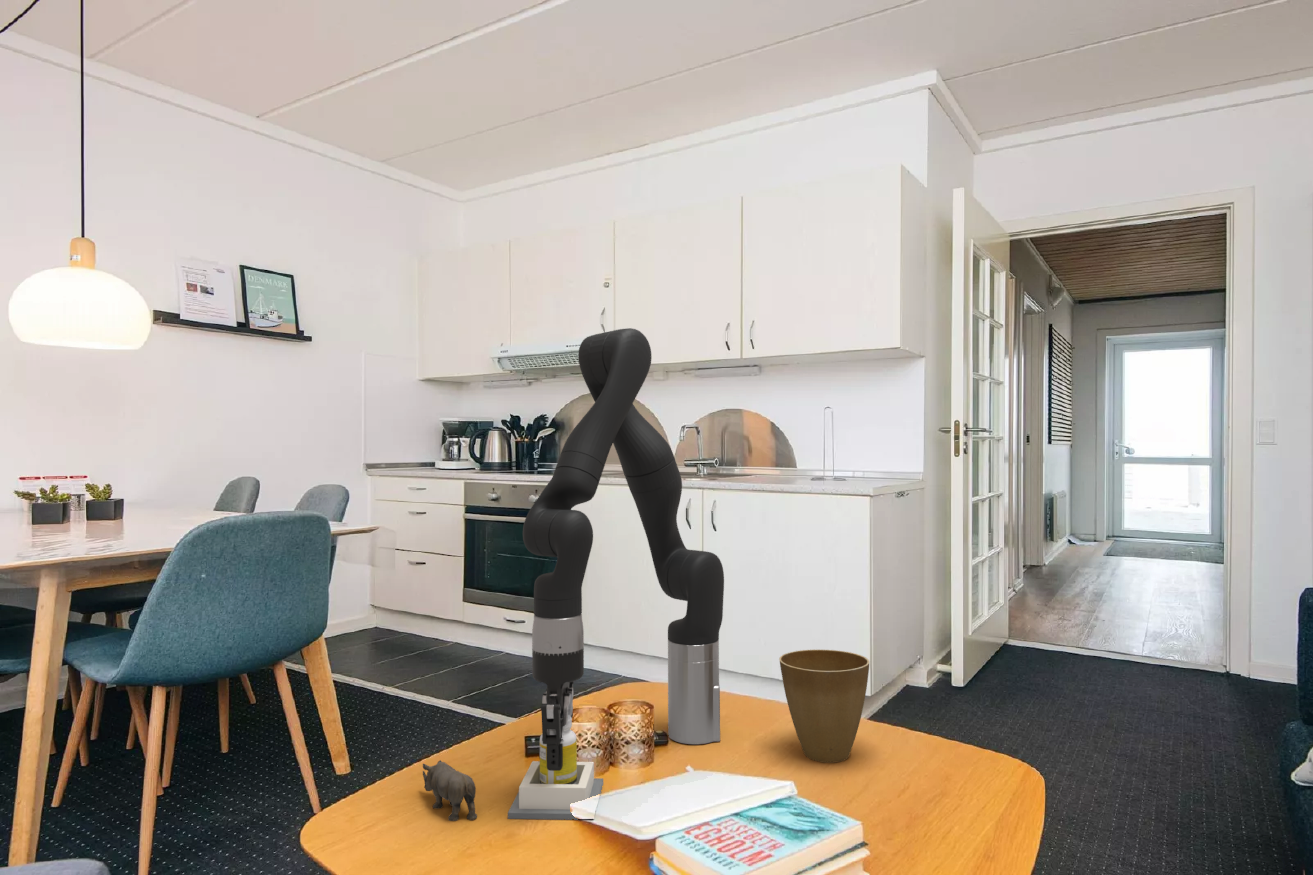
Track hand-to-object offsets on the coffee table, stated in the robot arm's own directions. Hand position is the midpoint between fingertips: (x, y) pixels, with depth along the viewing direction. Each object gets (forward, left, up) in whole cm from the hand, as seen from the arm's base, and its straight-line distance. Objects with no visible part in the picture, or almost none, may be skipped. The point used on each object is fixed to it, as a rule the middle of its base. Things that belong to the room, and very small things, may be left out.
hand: (558, 760), depth 114 cm
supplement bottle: (0, 0, -4) cm, 4 cm away
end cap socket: (0, 0, -6) cm, 6 cm away
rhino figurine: (+16, +2, -6) cm, 17 cm away
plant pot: (-42, -19, -6) cm, 46 cm away
